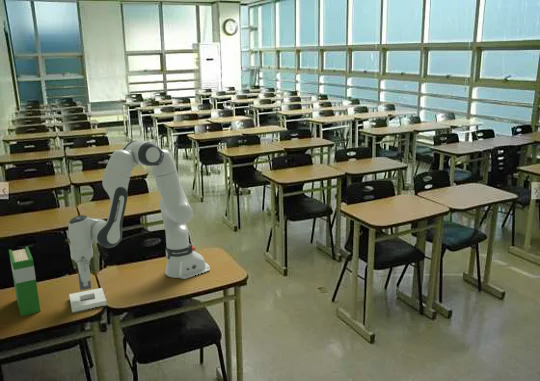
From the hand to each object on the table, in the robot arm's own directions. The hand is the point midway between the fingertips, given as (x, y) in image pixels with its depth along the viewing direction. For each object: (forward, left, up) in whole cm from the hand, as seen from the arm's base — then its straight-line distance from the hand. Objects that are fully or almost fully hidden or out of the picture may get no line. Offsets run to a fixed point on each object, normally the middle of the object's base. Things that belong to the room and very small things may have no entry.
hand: (85, 282), depth 205 cm
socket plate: (0, 0, -10) cm, 10 cm away
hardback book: (+23, -9, -10) cm, 27 cm away
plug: (0, 0, -2) cm, 2 cm away
